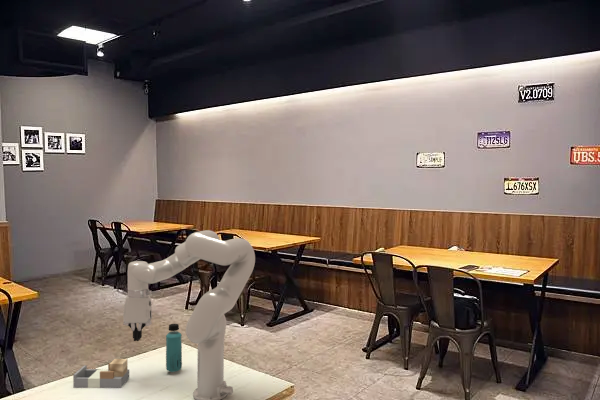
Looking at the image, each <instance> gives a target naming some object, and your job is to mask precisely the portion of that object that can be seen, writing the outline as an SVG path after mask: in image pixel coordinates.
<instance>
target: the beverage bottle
mask: <svg viewBox="0 0 600 400" xmlns="http://www.w3.org/2000/svg"><path fill="white" fill-rule="evenodd" d="M179 329H180V327H179V323H171V324H169V325H168V331H169V332H168V333H167V334H166V336H165V338H166V339H165V340H166V342H165V344H166V345H165V346H166V347H165V350H166V351H165V369H166V371H168V372H172V373H173V372H174V373H175V372H178V371H181V369H182V367H183V366H182V365H183V362H182V361H183V358H182V352H183V351H182V350H183V349H182V348H183V347H182V346H183V343H182V333H181V332H180V331H178V330H179Z"/></svg>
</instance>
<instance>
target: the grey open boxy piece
mask: <svg viewBox="0 0 600 400" xmlns="http://www.w3.org/2000/svg"><path fill="white" fill-rule="evenodd" d="M110 363H111V362H109V363H108V364H107V366H108V367H107V369H106V368H105V369H104V368H103V369H102V368H101V369H100V368H99V369H98V368H95V369H93V368H88V367H87V366H88V365H85V364H84V365H83V366H81V368H79V369H78V370H77V371H76V372H75V373H73V376H72V377H73V379H72V380H73V385H72V387H73V388H74V389H75V388H76V389H77V388H81V389H82V388H85V389H88V388H89V389H90V388H91V389H96V388H97V389H101V388H102V389H107V388H108V389H121V388H122V387H123V386H124V385H125V384H126V383H127V382H128V380H129V379H130V369H128V368H127V373H126V374H125V375H124V376H123V377H114V371H110Z"/></svg>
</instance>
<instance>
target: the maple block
mask: <svg viewBox="0 0 600 400" xmlns="http://www.w3.org/2000/svg"><path fill="white" fill-rule="evenodd" d="M109 363H110V371H114V377H123V376H124V375H125V374H126V373H127V369H128V358H114V359H113V360H112V361H111V362H109Z"/></svg>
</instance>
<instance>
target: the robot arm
mask: <svg viewBox="0 0 600 400" xmlns="http://www.w3.org/2000/svg"><path fill="white" fill-rule="evenodd" d="M199 260H200V261H201V260H203V261H206V262H209V263H212V264H217V265H220V266H229V267H228V268H227V270H226V271H225V273H224V274H223V277H222V278H221V280H220V282H219V283H218V285H217V286H216V287H214V288H213V289H210V290H208V291H207V292H205V293H204V294H203V295H202V296H201V297H200V299H199V300H198V302H197V304H196V306H195V307H194V309H193V311H192V312H191V315H190V317H189V318H188V321H187V322H186V326H185V334H186V337H187V339H188V340H189V342H191V343H193V344H197V372H196V373H197V379H196V380H197V381H196V382H197V386H196V388H195V389H194V390H193V393H192V397H193V398H194V400H222V399H225V398H226V397H227V395H233V393H234V389H233V388H234V387H233V386H230V385H227V381H226V380H224V376H225V374H224V373H225V372H224V370H225V369H224V368H225V366H224V365H225V364H224V363H225V362H224V361H225V360H224V357H225V354H224V353H225V336H226V335H225V334H226V330H227V329H226V328H227V318H226V316H225V314H226V313H228V312H230V311H231V310H232V309H233V308H234V306H235V305H236V303H237V301H238V299H239V298H240V296H241V294H242V293H243V291H244V288H245V287H246V284H247V282H248V281H249V279H250V277H251V275H252V273H253V270H254V267H255V266H256V265H255V263H256V254H255V250H254V247H253V246H252V245H251V243H250V242H249V240H246V239H244V238H243V237H242V238H241V237H236V238H232V239H227V240H221V239H220V237H219V235H218V234H217V233H216V232H215V231H213V230H208V229H206V230H201V231H195V232H193V233H190V234H189V235H188V236H187V238H186V240H185V241H184V242H182V243H181V244H178V245H177V246H176V247H175V249H174V253H173V254H171V255H170V256H168V257H167V258H164V259H163V260H159V261H155V262H150V263H148V262H147V261H143V260H134V261H131V262H129V263H128V265H127V296H126V297H125V301H124V305H123V313H122V320H123V322H122V325H124V326H128V327H129V329H131V331H132V339H133V342H139V340H141V339H142V336H143V330H144V328H145V327H149V326H151V325H152V319H153V306H152V299H151V296H150V295H152V292H153V291H152V290H150V289H149V285H151V284H152V285H153V284H156V283H159V282H162V281H164V280H167V279H170V278H172V277H174V276H175V275H177V274H179V273H180V272H182V271H184V270H186V268H189V266H191V265H193V264H195V263H197V262H198V261H199Z"/></svg>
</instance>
